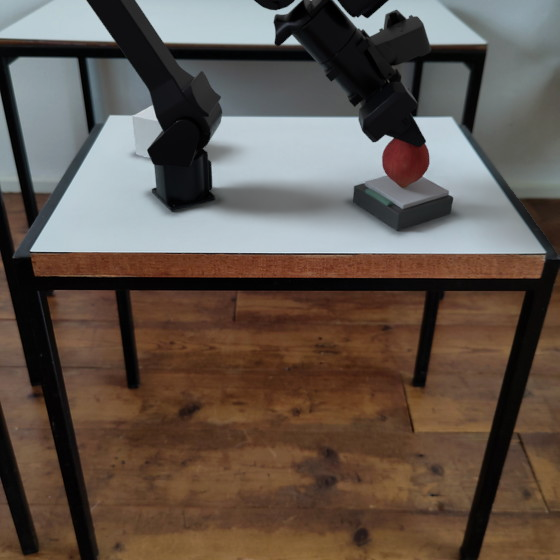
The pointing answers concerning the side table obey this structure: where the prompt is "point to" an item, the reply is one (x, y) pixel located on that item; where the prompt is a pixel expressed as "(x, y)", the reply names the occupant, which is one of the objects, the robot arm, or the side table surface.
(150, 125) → the white cube
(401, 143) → the onion
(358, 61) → the robot arm
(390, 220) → the scale
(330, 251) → the side table surface
